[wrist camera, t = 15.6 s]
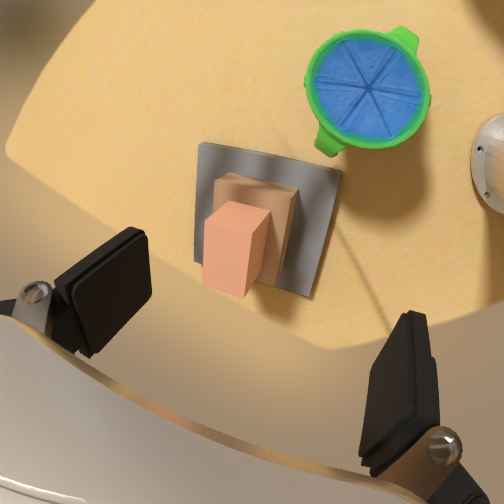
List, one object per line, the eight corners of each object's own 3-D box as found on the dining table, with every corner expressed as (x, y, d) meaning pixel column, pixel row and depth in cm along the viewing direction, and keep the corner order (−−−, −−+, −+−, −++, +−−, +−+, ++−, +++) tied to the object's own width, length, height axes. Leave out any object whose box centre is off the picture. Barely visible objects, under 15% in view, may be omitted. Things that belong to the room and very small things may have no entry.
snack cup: (371, 17, 24) (374, -12, 16) (443, 81, 25) (472, 76, 16) (288, 109, 33) (261, 114, 25) (356, 169, 34) (353, 195, 25)
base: (341, 170, 34) (338, 183, 30) (310, 291, 44) (302, 314, 39) (204, 142, 38) (182, 149, 34) (198, 256, 48) (180, 274, 43)
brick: (270, 210, 34) (252, 233, 29) (261, 269, 38) (243, 298, 33) (229, 200, 35) (204, 220, 30) (224, 258, 39) (202, 284, 34)
